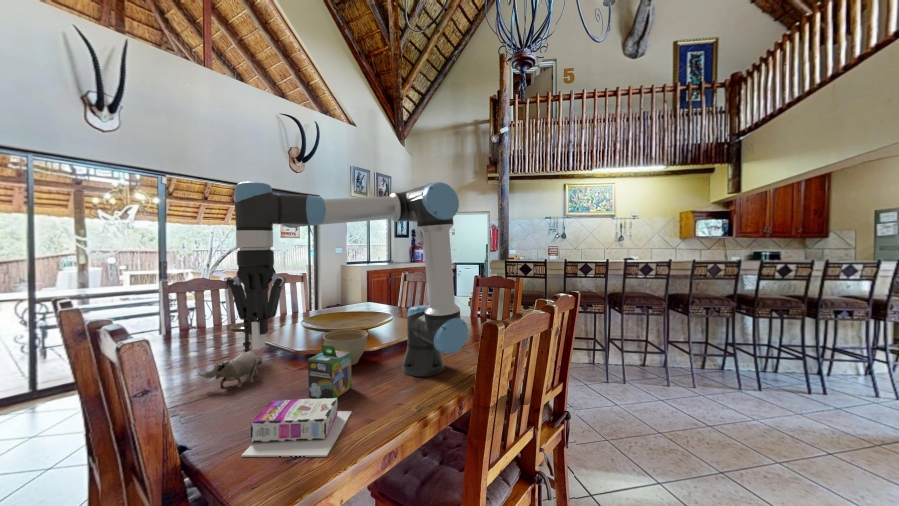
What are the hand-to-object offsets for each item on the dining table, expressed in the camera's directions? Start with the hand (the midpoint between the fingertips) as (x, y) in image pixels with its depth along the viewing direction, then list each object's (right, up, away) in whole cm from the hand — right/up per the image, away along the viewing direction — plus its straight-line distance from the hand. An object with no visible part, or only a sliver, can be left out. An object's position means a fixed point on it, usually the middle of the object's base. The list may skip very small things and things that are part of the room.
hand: (258, 347), depth 77 cm
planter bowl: (+6, -20, +46) cm, 51 cm away
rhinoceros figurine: (-24, -20, +27) cm, 41 cm away
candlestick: (-31, -19, +45) cm, 58 cm away
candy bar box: (0, -18, 0) cm, 18 cm away
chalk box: (+9, -20, +21) cm, 31 cm away
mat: (+10, -20, 0) cm, 23 cm away
